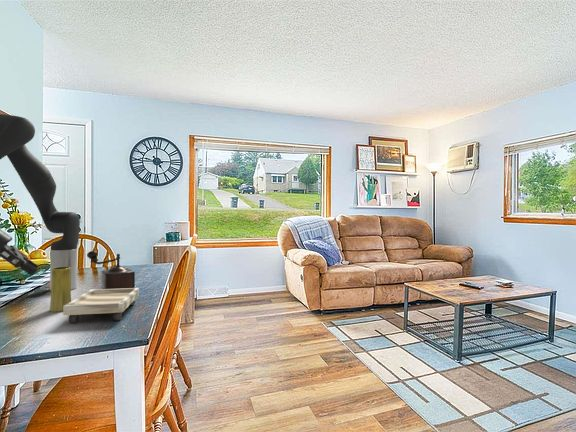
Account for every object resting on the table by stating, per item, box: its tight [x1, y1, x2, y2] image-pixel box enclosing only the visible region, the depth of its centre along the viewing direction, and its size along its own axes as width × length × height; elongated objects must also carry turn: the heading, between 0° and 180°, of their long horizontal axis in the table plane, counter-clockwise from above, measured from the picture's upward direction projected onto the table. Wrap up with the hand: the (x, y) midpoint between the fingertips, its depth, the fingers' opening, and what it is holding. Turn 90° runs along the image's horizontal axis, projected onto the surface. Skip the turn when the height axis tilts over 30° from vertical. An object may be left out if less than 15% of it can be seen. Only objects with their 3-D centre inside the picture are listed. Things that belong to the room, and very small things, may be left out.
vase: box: [49, 267, 72, 313], centre depth 104 cm, size 6×6×14 cm
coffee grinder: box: [86, 250, 136, 289], centre depth 124 cm, size 16×11×18 cm
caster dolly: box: [62, 287, 140, 324], centre depth 101 cm, size 20×16×6 cm
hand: (35, 270), depth 100 cm, fingers open, 8 cm apart
